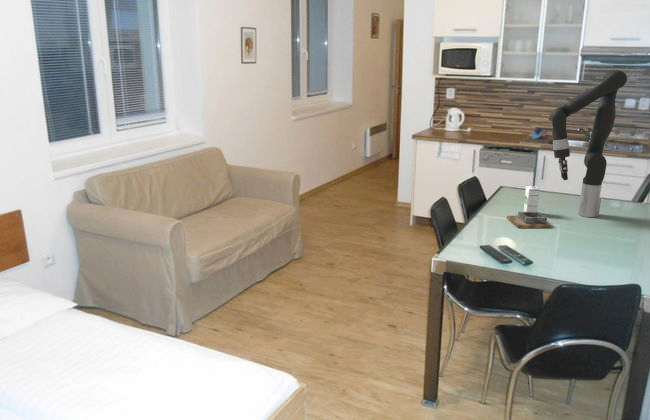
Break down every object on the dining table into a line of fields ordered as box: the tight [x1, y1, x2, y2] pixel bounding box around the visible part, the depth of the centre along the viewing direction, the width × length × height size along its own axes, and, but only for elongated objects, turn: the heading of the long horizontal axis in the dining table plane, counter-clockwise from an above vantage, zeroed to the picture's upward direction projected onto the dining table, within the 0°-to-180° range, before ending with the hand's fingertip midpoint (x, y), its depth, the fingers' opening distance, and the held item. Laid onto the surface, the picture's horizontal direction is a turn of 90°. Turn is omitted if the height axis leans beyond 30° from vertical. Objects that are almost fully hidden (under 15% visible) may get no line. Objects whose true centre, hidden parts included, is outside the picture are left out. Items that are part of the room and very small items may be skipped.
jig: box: [506, 211, 551, 229], centre depth 291 cm, size 16×16×4 cm
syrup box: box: [523, 185, 541, 212], centre depth 307 cm, size 6×6×14 cm
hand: (564, 179), depth 299 cm, fingers open, 8 cm apart
